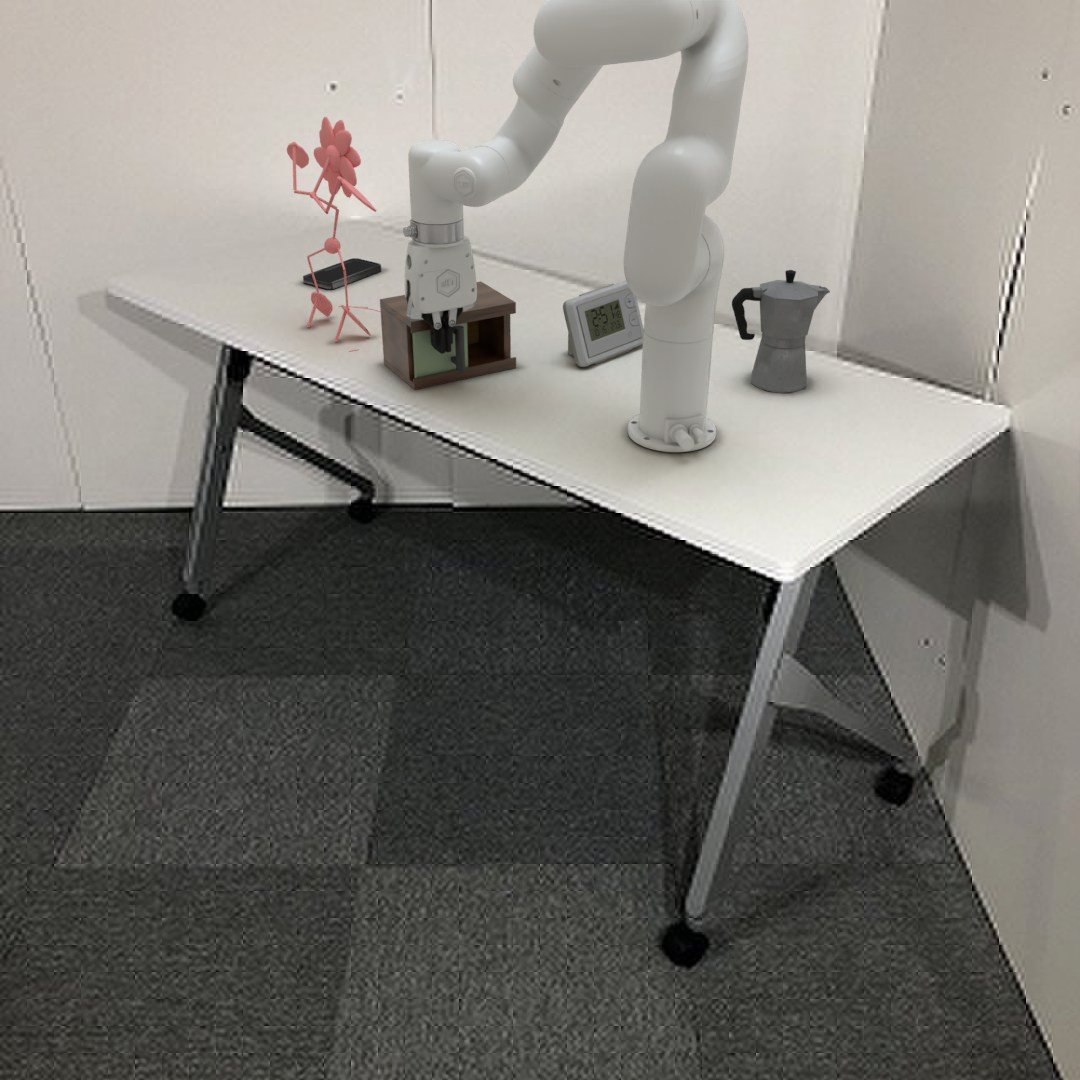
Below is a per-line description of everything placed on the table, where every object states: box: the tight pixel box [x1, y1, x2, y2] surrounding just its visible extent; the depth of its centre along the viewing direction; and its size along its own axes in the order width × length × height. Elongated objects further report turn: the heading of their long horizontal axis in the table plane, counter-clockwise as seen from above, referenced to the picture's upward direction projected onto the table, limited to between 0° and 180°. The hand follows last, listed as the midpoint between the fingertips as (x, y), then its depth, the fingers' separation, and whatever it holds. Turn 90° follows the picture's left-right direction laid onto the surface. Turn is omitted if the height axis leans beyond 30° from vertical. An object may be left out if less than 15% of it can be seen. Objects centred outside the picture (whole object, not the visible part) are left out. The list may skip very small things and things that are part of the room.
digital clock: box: [562, 280, 644, 368], centre depth 196 cm, size 16×9×11 cm, turn 123°
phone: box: [302, 257, 382, 290], centre depth 232 cm, size 8×1×15 cm
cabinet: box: [379, 281, 517, 390], centre depth 191 cm, size 12×18×11 cm, turn 120°
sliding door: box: [412, 323, 468, 378], centre depth 184 cm, size 4×9×8 cm, turn 120°
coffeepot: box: [731, 269, 831, 394], centre depth 184 cm, size 15×9×18 cm, turn 101°
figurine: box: [286, 116, 381, 353], centre depth 200 cm, size 15×26×35 cm, turn 40°
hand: (442, 349), depth 183 cm, fingers closed
